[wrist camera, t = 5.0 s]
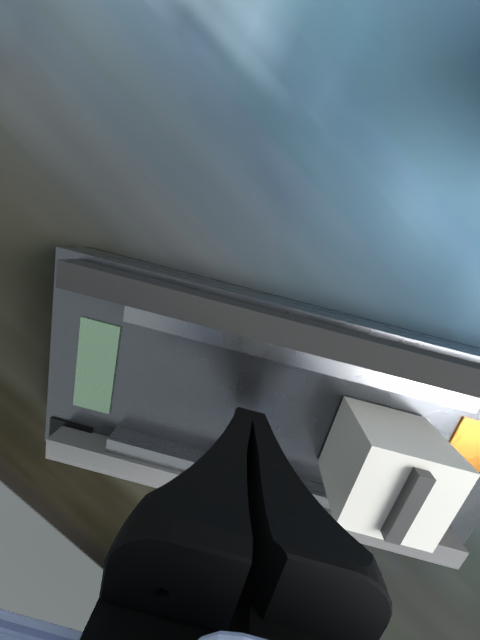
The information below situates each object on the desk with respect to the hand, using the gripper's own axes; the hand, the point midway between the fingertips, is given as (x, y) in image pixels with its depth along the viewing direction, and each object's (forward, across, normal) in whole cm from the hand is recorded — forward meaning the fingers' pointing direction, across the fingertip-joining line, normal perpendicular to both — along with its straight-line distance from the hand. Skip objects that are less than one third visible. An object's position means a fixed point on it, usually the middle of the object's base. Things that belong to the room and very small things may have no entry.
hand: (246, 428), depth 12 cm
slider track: (+4, -2, 0) cm, 4 cm away
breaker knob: (+1, -6, 0) cm, 6 cm away
